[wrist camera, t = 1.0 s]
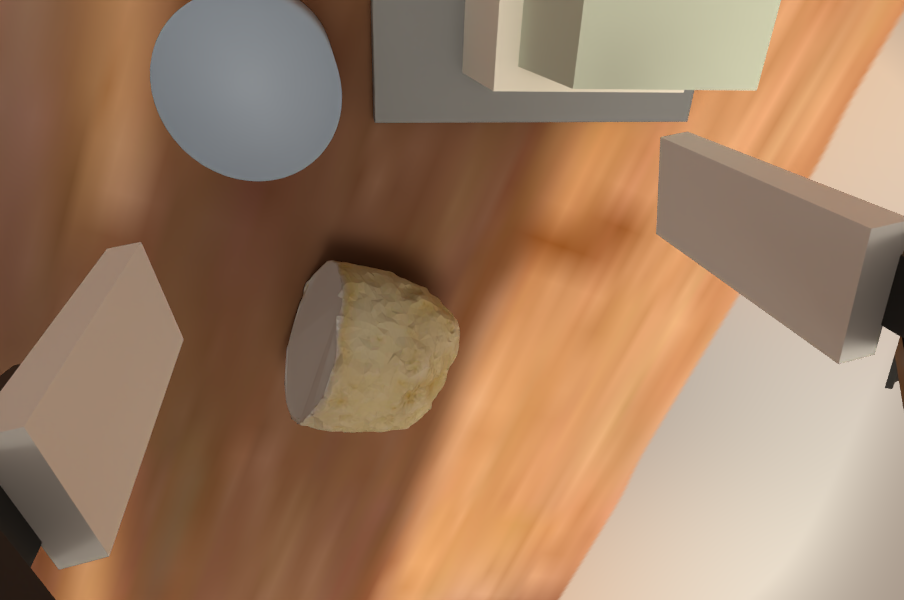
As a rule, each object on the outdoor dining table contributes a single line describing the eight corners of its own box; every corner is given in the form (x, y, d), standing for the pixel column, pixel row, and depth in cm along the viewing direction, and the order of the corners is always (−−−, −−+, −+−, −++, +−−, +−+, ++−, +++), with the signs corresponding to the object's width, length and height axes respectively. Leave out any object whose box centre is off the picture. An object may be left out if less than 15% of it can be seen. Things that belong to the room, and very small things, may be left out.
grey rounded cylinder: (214, 119, 30) (169, 183, 20) (194, -16, 27) (131, -15, 17) (335, 118, 31) (346, 179, 21) (328, -10, 28) (337, -6, 19)
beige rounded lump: (275, 246, 26) (471, 352, 26) (343, 223, 36) (486, 300, 36) (201, 416, 29) (380, 513, 29) (284, 351, 39) (417, 423, 39)
